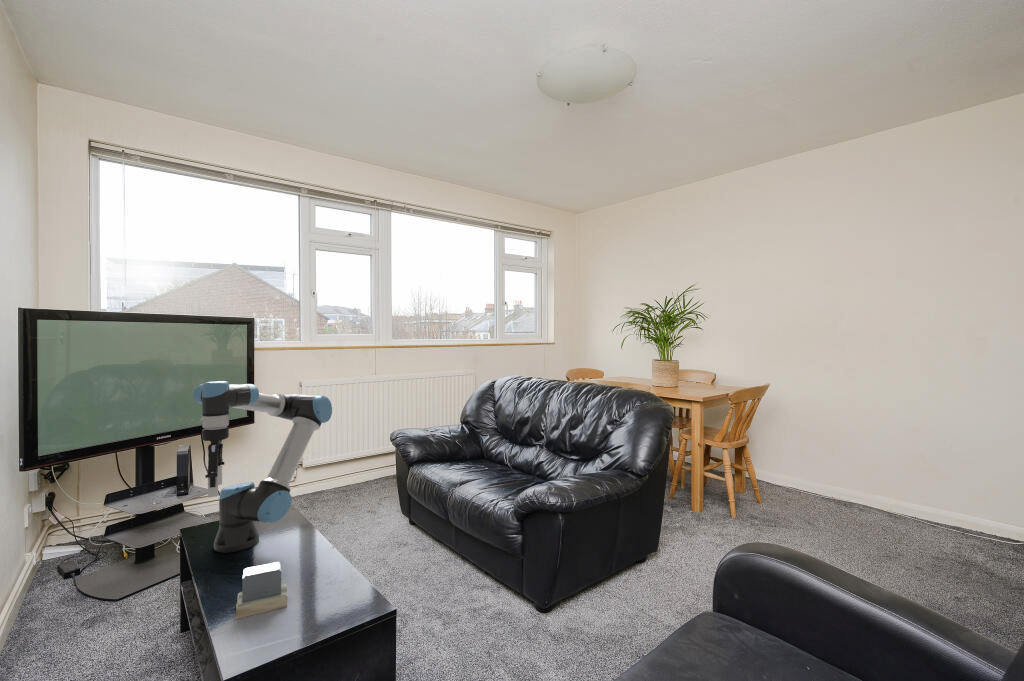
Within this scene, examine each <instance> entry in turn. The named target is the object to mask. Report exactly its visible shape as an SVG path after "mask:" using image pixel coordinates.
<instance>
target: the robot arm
mask: <svg viewBox="0 0 1024 681" xmlns="http://www.w3.org/2000/svg"><path fill="white" fill-rule="evenodd" d="M192 397H193V398H192V399H193V400H194V401H195V403H197V404H200V405H201V406H202V409H201V411H202V412H201V414H202V417H201V418H200V419H199V422H202V426H201V427H202V428H203V429H202V430H201V437H202V438H201V439H202V441H204V442H210V444H208V446H207V456H208V460H207V474H205V475H204V476H205V479H207V498H216V497H218V496H219V499H218V503H219V504H218V505H219V506H218V510H219V512H218V514H219V518H218V519H219V528H218V530H217V533H216V536H215V539H214V542H213V549H214V551H215V552H217V553H224V554H225V553H233V552H234V553H235V552H240V551H243V550H247V549H249V548H251V547H253V546H255V545H256V544H258V543H259V542H260V534H259V530H258V528H257V525H256V523H255V522H261V523H264V524H265V523H277V522H278V521H280V520H282V519H283V518H284V517H285V516H286V515H287V514H288V513H289V511H290V508H291V506H292V500H293V498H292V495H291V494H290V492H291V487H290V484H291V481H292V479H293V477H294V475H295V474H296V471H297V468H298V466H299V464H300V463H301V460H302V457H303V455H304V453H305V451H306V449H307V448H308V445H309V443H310V441H311V438H312V436H313V434H314V432H316V431H318V430H319V429H320V428H321V425H322V424H326V423H328V422H329V421H330V419H331V417H332V414H333V407H332V405H333V404H332V402H331V400H330V399H329V397H327V396H326V395H321V394H320V395H319V394H298V393H297V394H281V393H280V394H279V393H275V394H268V393H261V392H260V391H259V388H258V386H256V385H255V384H252V383H244V384H229V382H228V381H225V380H222V381H221V380H217V381H215V380H214V381H206V382H205V383H201V384H199V385H197V386H196V387H195V388H194V389H193V393H192ZM231 408H234V409H240V410H246V411H251V412H252V411H253V412H259V413H266V414H268V416H270V417H274V418H275V417H276V418H281V419H284V420H289V421H292V423H293V425H292V427H291V429H290V431H289V433H288V435H287V437H286V439H285V441H284V444H283V446H282V448H281V449H280V451H279V453H278V455H277V458H276V459H275V460H274V463H273V465H272V467H271V468H270V471H269V473H268V475H267V477H266V478H264V479H262V480H260V481H259V484H258V486H257V487H255V486H256V485H255V483H254V482H253V481H244V482H243V481H242V482H239V483H234V484H229V485H227V486H225V487H223V488H222V489H221V490H220V492H219V486H220V485H223V466H224V465H225V461H223V449H224V445H223V442H222V441H223V440H226V439H228V438H229V435H230V434H229V433H230V432H229V429H230V428H229V427H228V426H229V425H230V409H231Z"/></svg>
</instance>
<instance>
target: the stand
mask: <svg viewBox="0 0 1024 681" xmlns="http://www.w3.org/2000/svg"><path fill="white" fill-rule="evenodd" d="M236 600H237V601H236V605H235V607H236V609H235V611H236V612H235V619H241V618H242V619H243V618H245V617H250V616H253V615H258V614H262V613H267V612H271V611H273V610H274V611H275V610H278V609H279V610H280V609H283V608H286V607H288V587H287V582H281V594H280V595H275V596H271V597H266V598H262V599H258V600H253V601H249V602H244V603H242V591H240V592H239V593H237V599H236Z"/></svg>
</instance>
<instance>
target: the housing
mask: <svg viewBox="0 0 1024 681" xmlns="http://www.w3.org/2000/svg"><path fill="white" fill-rule="evenodd" d="M242 572H243V574H242V577H241V578H242V582H241V583H242V585H241V586H242V587H241V588H242V590H241V592H242V603H244V602H249V601H253V600H258V599H262V598H266V597H271V596H275V595H280V594H281V583H282V561H281V562H280V561H275V562H270V563H265V564H260V565H256V566H250V567H246V568H243V571H242Z"/></svg>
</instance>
